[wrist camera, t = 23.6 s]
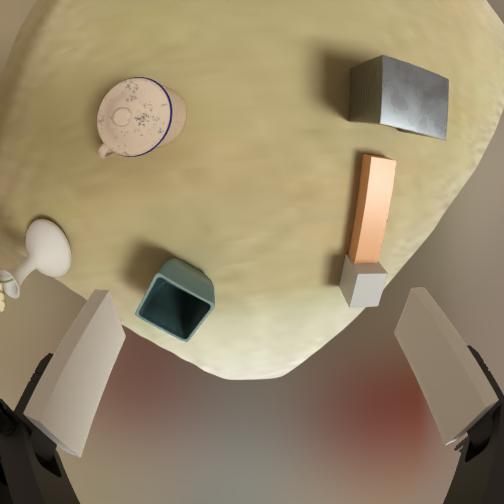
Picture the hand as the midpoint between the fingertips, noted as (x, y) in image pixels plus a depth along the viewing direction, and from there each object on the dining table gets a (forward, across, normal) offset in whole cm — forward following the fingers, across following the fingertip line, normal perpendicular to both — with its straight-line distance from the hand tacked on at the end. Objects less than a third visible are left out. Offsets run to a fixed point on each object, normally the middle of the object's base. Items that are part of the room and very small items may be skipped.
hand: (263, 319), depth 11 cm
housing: (+29, +18, +12) cm, 36 cm away
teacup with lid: (+29, -14, +8) cm, 33 cm away
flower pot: (+28, -11, -16) cm, 35 cm away
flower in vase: (+29, -36, -10) cm, 47 cm away
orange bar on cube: (+29, +17, -8) cm, 34 cm away
